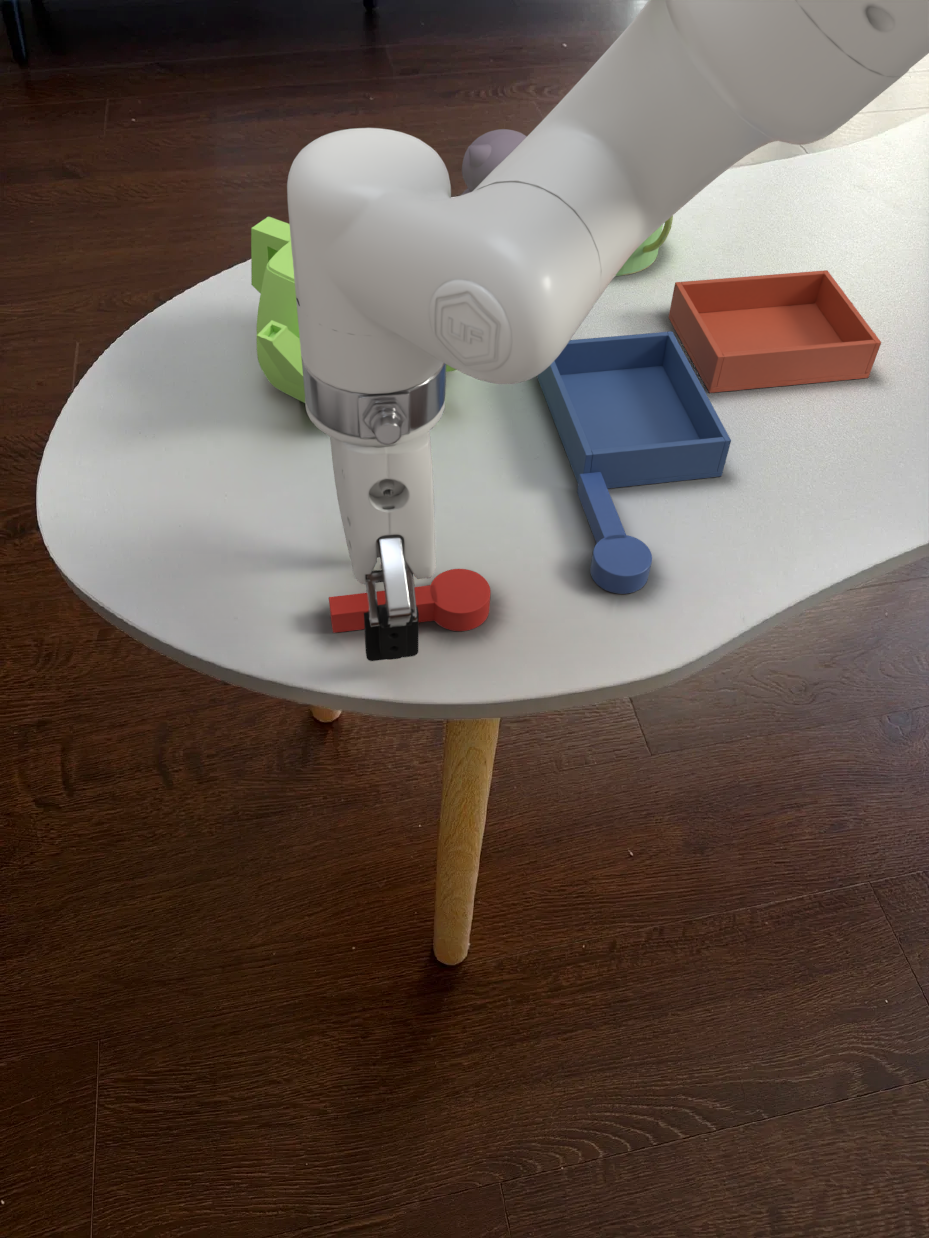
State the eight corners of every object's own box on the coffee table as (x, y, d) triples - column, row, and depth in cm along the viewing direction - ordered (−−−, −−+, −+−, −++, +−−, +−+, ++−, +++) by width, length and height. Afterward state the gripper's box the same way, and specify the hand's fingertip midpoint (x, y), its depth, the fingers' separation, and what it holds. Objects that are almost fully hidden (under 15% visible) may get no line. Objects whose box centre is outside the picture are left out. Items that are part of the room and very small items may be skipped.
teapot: (382, 499, 80) (376, 347, 70) (175, 402, 87) (144, 251, 77) (512, 374, 90) (523, 227, 80) (319, 296, 97) (307, 152, 87)
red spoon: (328, 601, 73) (326, 583, 72) (482, 583, 74) (483, 565, 73) (335, 647, 70) (333, 628, 69) (494, 627, 72) (496, 609, 71)
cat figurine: (520, 233, 105) (529, 106, 96) (558, 274, 101) (571, 145, 92) (438, 250, 103) (440, 122, 94) (474, 293, 98) (479, 162, 89)
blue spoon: (613, 488, 81) (616, 469, 80) (655, 590, 75) (659, 572, 73) (561, 494, 81) (563, 475, 79) (598, 597, 74) (602, 579, 73)
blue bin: (665, 366, 92) (672, 331, 89) (721, 476, 83) (731, 440, 80) (537, 378, 90) (540, 342, 87) (580, 491, 81) (586, 455, 78)
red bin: (816, 305, 99) (827, 270, 96) (868, 378, 91) (881, 342, 89) (668, 317, 96) (674, 282, 94) (709, 393, 89) (718, 357, 87)
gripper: (475, 481, 53) (462, 695, 66) (418, 285, 64) (417, 501, 77) (320, 496, 52) (338, 711, 65) (289, 294, 63) (310, 512, 76)
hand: (381, 597), depth 71 cm, fingers open, 9 cm apart
